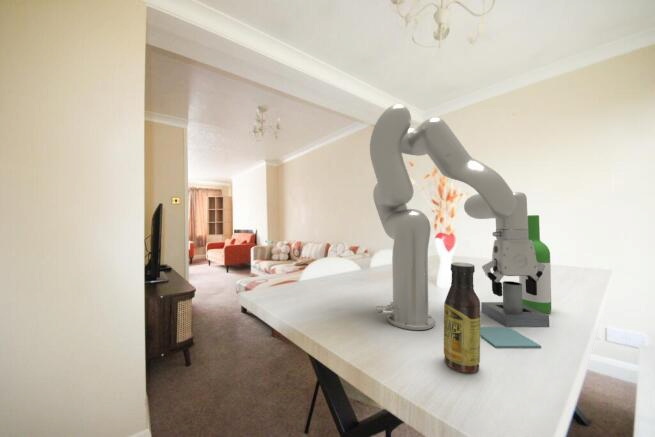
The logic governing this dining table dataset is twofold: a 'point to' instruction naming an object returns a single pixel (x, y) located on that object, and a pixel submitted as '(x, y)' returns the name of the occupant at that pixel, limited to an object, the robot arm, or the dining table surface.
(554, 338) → the dining table surface
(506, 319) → the socket block
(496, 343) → the mat
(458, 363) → the sauce bottle
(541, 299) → the wine bottle
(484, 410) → the dining table surface
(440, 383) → the dining table surface
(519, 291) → the grey cylinder
